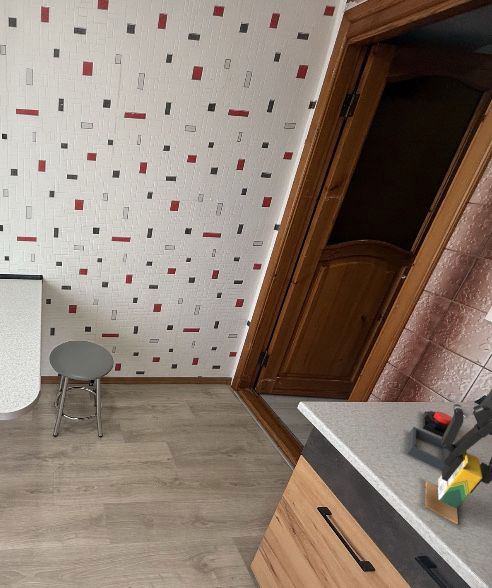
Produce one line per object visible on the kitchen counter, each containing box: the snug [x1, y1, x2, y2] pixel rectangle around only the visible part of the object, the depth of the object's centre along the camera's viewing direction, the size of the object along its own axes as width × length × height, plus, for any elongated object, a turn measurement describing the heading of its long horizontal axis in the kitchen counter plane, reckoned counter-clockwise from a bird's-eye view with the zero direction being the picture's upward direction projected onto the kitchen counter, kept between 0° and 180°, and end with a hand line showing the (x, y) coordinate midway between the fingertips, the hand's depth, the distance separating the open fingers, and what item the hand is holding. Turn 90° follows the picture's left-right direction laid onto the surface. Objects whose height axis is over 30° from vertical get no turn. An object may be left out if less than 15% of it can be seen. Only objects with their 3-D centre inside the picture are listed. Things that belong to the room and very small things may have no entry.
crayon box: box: [437, 450, 482, 510], centre depth 71 cm, size 7×3×12 cm, turn 135°
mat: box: [424, 480, 459, 525], centre depth 74 cm, size 5×9×1 cm, turn 135°
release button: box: [433, 411, 453, 425], centre depth 96 cm, size 4×4×2 cm
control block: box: [422, 410, 448, 438], centre depth 96 cm, size 9×6×3 cm
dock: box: [407, 426, 449, 471], centre depth 88 cm, size 7×11×2 cm
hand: (456, 482), depth 72 cm, fingers closed on crayon box, 3 cm apart
